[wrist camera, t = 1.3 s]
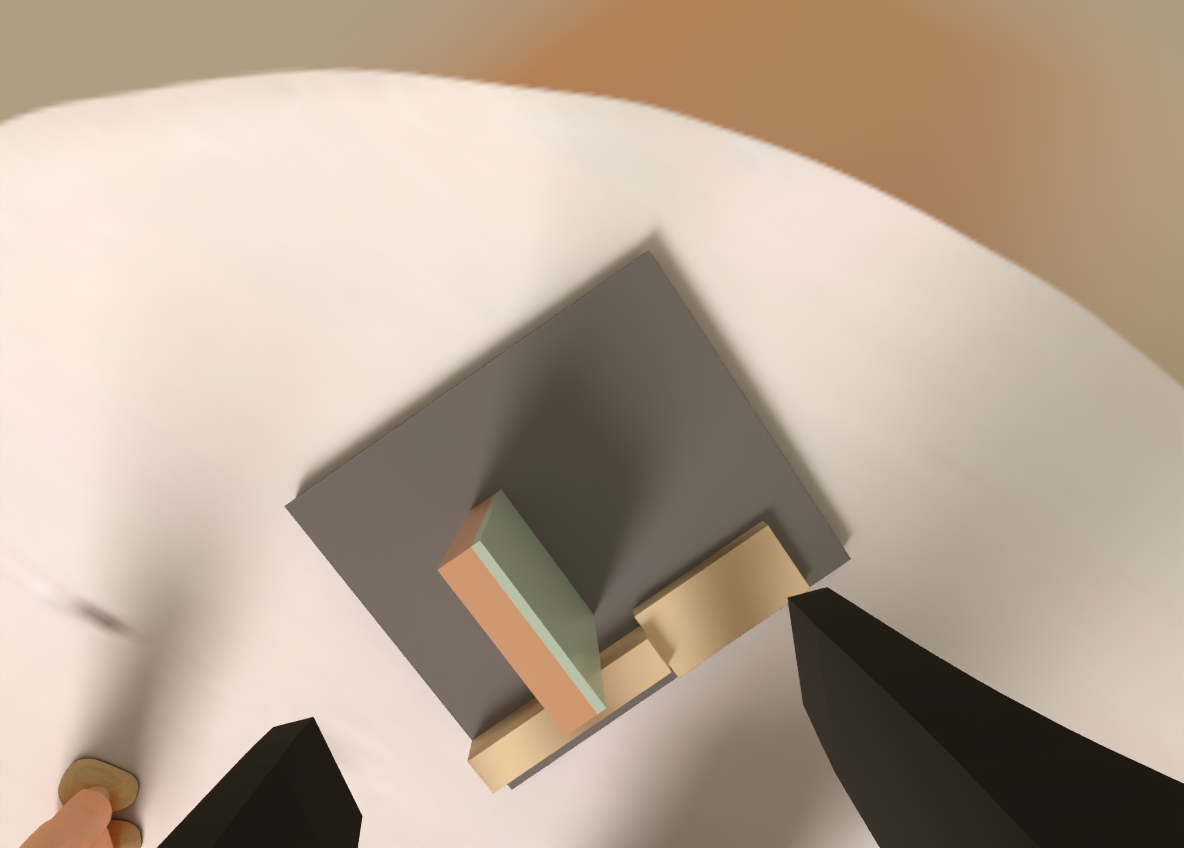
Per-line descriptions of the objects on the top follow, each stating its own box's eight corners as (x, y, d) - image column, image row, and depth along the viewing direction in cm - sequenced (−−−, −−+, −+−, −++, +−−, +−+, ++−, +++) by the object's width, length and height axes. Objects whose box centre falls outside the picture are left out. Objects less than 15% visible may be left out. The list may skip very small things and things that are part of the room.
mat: (513, 775, 24) (511, 789, 23) (294, 500, 22) (284, 506, 22) (841, 552, 24) (850, 559, 23) (645, 253, 22) (648, 250, 21)
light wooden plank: (507, 784, 23) (504, 807, 22) (461, 726, 23) (456, 747, 22) (803, 582, 23) (816, 594, 22) (762, 520, 23) (773, 530, 22)
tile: (563, 635, 23) (565, 735, 17) (469, 510, 22) (437, 569, 16) (594, 614, 23) (606, 708, 17) (501, 489, 22) (480, 540, 16)
